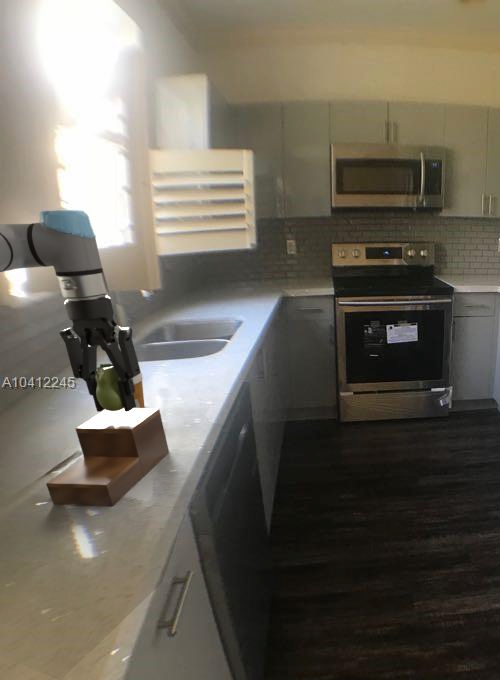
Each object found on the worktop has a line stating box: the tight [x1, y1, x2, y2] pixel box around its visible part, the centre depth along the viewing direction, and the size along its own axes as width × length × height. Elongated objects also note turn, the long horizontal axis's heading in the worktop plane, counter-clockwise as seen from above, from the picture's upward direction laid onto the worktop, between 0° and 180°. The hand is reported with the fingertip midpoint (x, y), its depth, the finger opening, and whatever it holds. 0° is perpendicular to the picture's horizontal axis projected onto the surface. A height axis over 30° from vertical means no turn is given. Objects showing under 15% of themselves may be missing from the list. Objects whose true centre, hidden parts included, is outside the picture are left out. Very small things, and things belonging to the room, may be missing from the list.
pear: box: [96, 362, 124, 411], centre depth 93 cm, size 6×5×10 cm
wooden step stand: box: [45, 407, 170, 507], centre depth 93 cm, size 12×20×11 cm, turn 175°
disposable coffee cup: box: [133, 372, 146, 408], centre depth 121 cm, size 10×10×12 cm
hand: (116, 408), depth 95 cm, fingers closed on pear, 5 cm apart
